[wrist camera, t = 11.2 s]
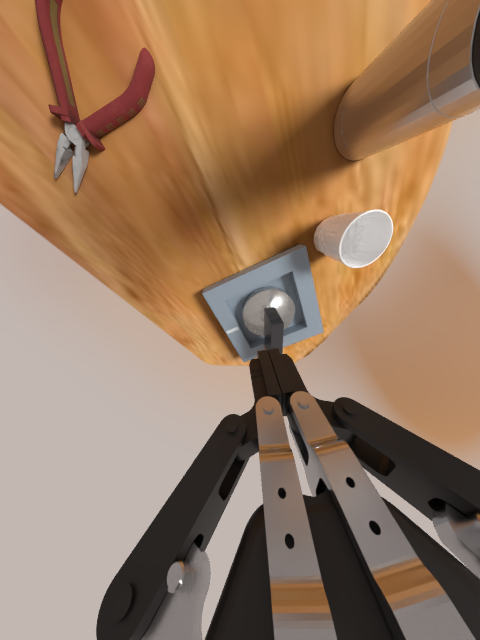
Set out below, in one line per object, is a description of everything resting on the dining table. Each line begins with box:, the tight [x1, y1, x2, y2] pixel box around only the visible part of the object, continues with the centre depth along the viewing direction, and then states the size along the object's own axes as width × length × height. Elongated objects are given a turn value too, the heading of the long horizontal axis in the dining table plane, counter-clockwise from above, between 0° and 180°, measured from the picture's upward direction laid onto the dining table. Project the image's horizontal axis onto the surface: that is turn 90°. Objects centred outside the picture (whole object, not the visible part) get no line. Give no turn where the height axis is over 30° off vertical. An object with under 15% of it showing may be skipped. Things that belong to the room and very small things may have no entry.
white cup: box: [314, 210, 393, 268], centre depth 29 cm, size 8×8×10 cm
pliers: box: [35, 0, 155, 193], centre depth 22 cm, size 12×20×3 cm, turn 142°
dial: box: [242, 286, 295, 355], centre depth 38 cm, size 16×12×9 cm
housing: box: [202, 244, 324, 362], centre depth 40 cm, size 22×22×3 cm
